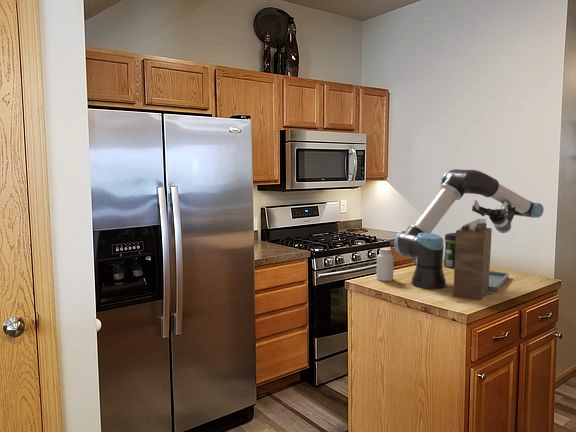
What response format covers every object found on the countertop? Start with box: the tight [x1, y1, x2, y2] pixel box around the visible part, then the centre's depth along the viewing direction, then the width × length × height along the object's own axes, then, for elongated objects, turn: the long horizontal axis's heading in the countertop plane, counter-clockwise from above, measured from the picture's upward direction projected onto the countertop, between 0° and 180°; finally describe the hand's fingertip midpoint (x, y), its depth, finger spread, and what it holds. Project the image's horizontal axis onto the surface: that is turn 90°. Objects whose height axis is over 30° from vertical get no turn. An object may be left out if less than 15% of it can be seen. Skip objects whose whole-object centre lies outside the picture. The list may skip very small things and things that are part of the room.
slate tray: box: [488, 270, 509, 293], centre depth 217 cm, size 31×18×2 cm, turn 146°
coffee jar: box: [443, 232, 456, 269], centre depth 248 cm, size 10×8×19 cm
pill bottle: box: [376, 247, 395, 282], centre depth 221 cm, size 8×8×15 cm
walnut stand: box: [452, 222, 493, 301], centre depth 196 cm, size 16×11×30 cm
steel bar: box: [468, 218, 487, 231], centre depth 199 cm, size 20×3×3 cm, turn 146°
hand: (489, 203), depth 223 cm, fingers open, 13 cm apart
